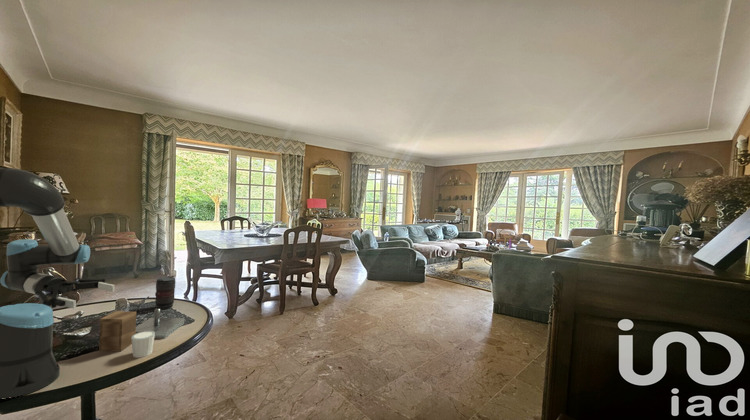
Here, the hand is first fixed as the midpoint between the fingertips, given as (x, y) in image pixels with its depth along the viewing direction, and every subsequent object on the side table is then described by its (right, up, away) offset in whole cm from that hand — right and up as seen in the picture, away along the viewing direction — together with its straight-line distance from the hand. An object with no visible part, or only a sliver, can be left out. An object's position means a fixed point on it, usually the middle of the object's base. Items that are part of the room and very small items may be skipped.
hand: (95, 296), depth 109 cm
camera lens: (-4, -18, +41) cm, 45 cm away
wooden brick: (+6, -20, +2) cm, 21 cm away
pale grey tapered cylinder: (+19, -21, -1) cm, 28 cm away
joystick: (+11, -20, +17) cm, 28 cm away
